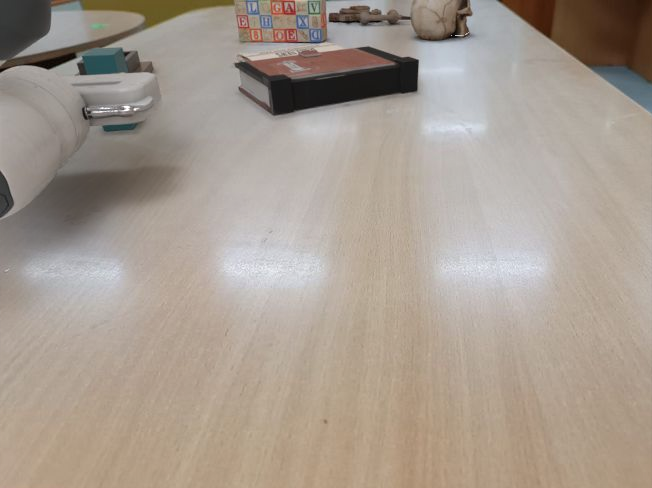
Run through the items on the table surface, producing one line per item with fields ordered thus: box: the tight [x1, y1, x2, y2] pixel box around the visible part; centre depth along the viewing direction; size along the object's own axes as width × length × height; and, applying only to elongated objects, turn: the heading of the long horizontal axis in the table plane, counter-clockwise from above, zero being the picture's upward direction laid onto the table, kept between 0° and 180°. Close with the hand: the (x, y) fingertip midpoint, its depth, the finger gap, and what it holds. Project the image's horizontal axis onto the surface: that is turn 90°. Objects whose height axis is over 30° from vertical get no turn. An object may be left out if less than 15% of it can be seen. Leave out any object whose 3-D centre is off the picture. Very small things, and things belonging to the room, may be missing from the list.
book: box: [234, 45, 420, 116], centre depth 87 cm, size 26×18×5 cm
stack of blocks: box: [233, 0, 328, 43], centre depth 125 cm, size 21×6×12 cm, turn 80°
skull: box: [409, 0, 474, 41], centre depth 127 cm, size 16×17×13 cm
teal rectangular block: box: [81, 46, 139, 132], centre depth 71 cm, size 4×5×10 cm
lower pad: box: [74, 50, 154, 76], centre depth 96 cm, size 12×14×4 cm
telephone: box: [328, 5, 411, 25], centre depth 149 cm, size 15×33×4 cm, turn 87°
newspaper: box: [232, 41, 345, 65], centre depth 108 cm, size 23×12×2 cm, turn 126°
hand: (79, 81), depth 60 cm, fingers open, 8 cm apart
